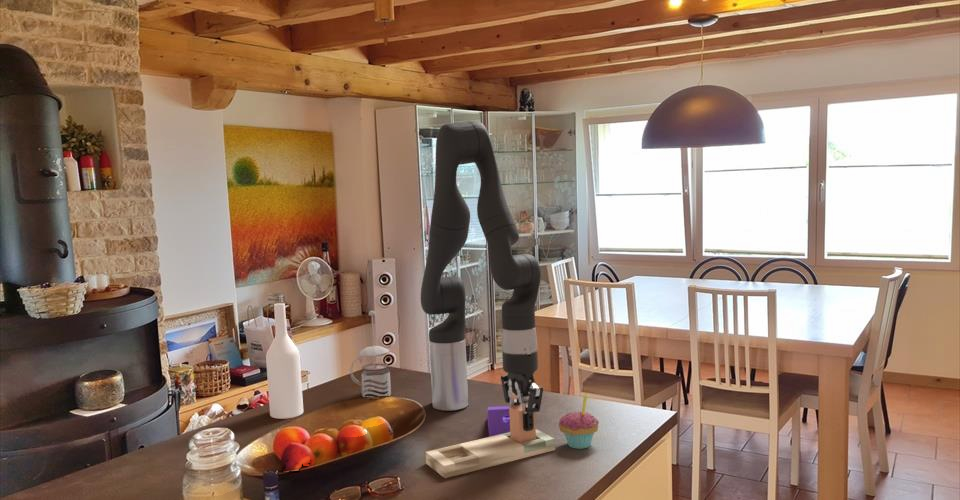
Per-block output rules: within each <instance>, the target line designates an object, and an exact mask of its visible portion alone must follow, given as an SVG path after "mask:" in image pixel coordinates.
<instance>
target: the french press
mask: <svg viewBox="0 0 960 500" xmlns="http://www.w3.org/2000/svg"><path fill="white" fill-rule="evenodd" d="M376 315H377V313H376V311H375V310H370V311H369V312H368V316H371V322H372V325H371V326H372V328H374V317H373V316H376ZM374 332H375V331H374V329H372V343H373V345H371V346H366V347H365V348H363V349H362V350H360V352H359V353H358V354H359V356H358V357H357V358H355V359H354V360H353V361H352V363H351V365H350V368H349V373H350V377H351V380H352V382H354V383H355V384H357V385H359V386H360V389H361V390H360V391H361V392H360V393H361V396H362V397H363V398H365V397H374V396H377V397H380V396H386V397H387V396H388V397H389V396H391V395H392V388H391V387H392V386H391V372H390V369H388V368H389V364H387V363H384V362H381V363H380V362H378V363H375V362H376V357H380V356H381V357H382V356H387V354H389V353H390V350H389V349H388V348H386V347H384V346H380V345H375V333H374ZM362 357H371V358H372V357H374V360H373V361H374V363H368V364H365V365H362V367H361V369H362V370H363V371H362V372H361V375H360V376H361V381H359V380H358V379H357V378H356V377H355V376H354V373H353V368H354V367H353V366H354V364H355V362H356V361H357V360H359V363H360V364H361V363H362V361H363V359H362ZM374 373H377V374H374ZM370 374H372V375H370ZM376 382H377V383H376ZM377 387H378V388H377ZM381 388H382V389H381ZM375 391H376V392H375ZM378 392H379V393H378ZM386 392H387V393H386ZM383 393H385V394H383Z"/></svg>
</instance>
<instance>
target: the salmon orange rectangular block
mask: <svg viewBox="0 0 960 500" xmlns="http://www.w3.org/2000/svg"><path fill="white" fill-rule="evenodd" d="M526 406H528V403H526ZM509 415H510V438H511V439H512V440H514V441H516V442H518V443H519V444H520V443H524V442H528V441H532V440H536V429H537V427H536V426H537V425H536V412H534V413H533V419H534V428H533V430H530V431H525V430H524V429H523V410H522V405H521V404H520V405H516V406H511V407H509Z"/></svg>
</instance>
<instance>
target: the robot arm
mask: <svg viewBox="0 0 960 500" xmlns="http://www.w3.org/2000/svg"><path fill="white" fill-rule="evenodd" d="M435 141H436V142H435V166H434V167H435V169H434V170H435V171H434V173H435V175H434V178H435V179H434V191H433V202H432V209H431V215H430V223H429V224H430V225H429V233H428V234H429V236H428V247H427V249H428V250H427V257H426V261H425V262H426V263H425V266H424V272H423V277H422V280H421V281H422V282H421V288H420V306H421V309H422V311H423V312H424V313H425V314H427V315H433V316H435V315H445V314H446V315H447V314H448V315H447V317H446V318H445V319H444V320H443V321H442V322H441V323H439V324H437V325H435V326H432V328H430V329H429V330H428V331H429V332H428V340H429V341H428V342H429V360H430V361H429V362H430V363H429V365H430V377H431V378H430V379H431V380H430V382H431V399H432V400H431V401H432V407H433V408H434V409H435V410H437V411H457V410H461V409H462V410H463V409H464V408H467V407H468V406H469V395H468V394H469V391H468V390H469V389H468V388H469V387H468V370H467V368H468V367H467V366H468V365H467V349H466V289H465V285H464V282H463V279H462V278H461V277H459V276H445V277H444V276H443V273H444V272H445V269H446V268H447V267H448V265H449V264H450V263H451V261H453V259H454V258H455V257H456V256H457V255H458V253H460V251H461V250H462V248H463V247H464V245H465V244H466V243H467V240H468V236H469V231H470V230H469V229H470V223H471V212H470V208H469V206H468V204H467V202H466V200H465V197H464V196H463V195H462V193H461V192H460V189H459V187H458V185H457V172H458V168H459V166H461V165H468V164H475V166H476V168H477V170H478V172H479V177H480V187H479V193H478V198H477V204H476V205H477V206H476V213H477V218H478V222H479V225H480V227H481V230H482V232H483V236H484V238H485V240H486V243H487V247H488V248H487V251H488V260H489V266H490V267H489V268H490V272H491V273H490V274H491V277H492V279H493V281H494V283H495V284H496V285H497V286H498V287H499V288H500V289H502V290H506V291H510V290H511V291H513V293H512V296H511V297H510V298H509V299H507V300H506V301H504V302H503V303H502V305H501V326H502V328H501V330H502V332H501V350H502V351H501V353H502V355H501V356H502V358H501V359H502V370H503V371H504V373H507V374H503V375H500V381H501V387H502V392H503V395H504V396H503V398H504V401H505V403H506V404H508V406H510V407H511V406H516V405H520V404H521V405H522V410H523V429H524V430H525V431H530V430H533V428H534V419H533V413H534V412H535V413H538V412H540V410H541V406H542V405H541V404H542V400H543V399H542V398H543V395H544V389H543V386H542V385H540V386H538V385H537V384H536V381H535V378H534V373H535V372H537V371H538V369H539V358H538V357H539V356H538V355H539V354H538V353H539V352H538V336H537V335H538V334H537V331H536V313H535V311H536V309H535V308H536V307H535V306H536V303H537V300H538V295H539V294H538V293H539V290H540V289H539V288H540V285H541V276H542V274H541V267H540V264H539V261H538V260H537V258H536V256H533V255H532V254H529V253H521V254H520V253H519V254H513V252H512V246H514V245H515V244H517V242H519V239H520V234H519V231H518V228H517V225H516V222H515V220H514V218H513V215H512V213H511V211H510V207H509V205H508V203H507V200H506V197H505V194H504V190H503V186H502V181H501V178H500V173H499V168H498V163H497V159H496V155H495V152H494V148H493V143H492V140H491V137H490V134H489V131H488V130H487V128H486V126H485V125H484V124H483V123H482V122H481V121H477V120H469V121H467V120H466V121H460V122H459V121H458V122H451V123H445V124H443V125H441V127H440V128H439V130H438V132H437V135H436V140H435ZM526 404H527V405H528V406H526Z"/></svg>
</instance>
